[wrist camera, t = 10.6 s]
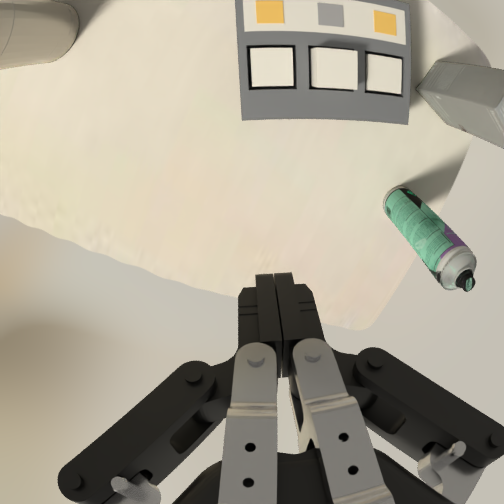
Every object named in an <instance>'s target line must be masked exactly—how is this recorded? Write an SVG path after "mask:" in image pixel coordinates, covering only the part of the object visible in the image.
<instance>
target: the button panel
mask: <svg viewBox="0 0 504 504" xmlns="http://www.w3.org/2000/svg"><path fill="white" fill-rule="evenodd" d="M235 9H236V26H237V44H238V62H239V79H240V96H241V113H242V121H243V120H264V119H336V120H357V121H372V122H384V123H395V124H404V125H408V119H409V105H410V85H411V27H410V9H409V4H407V3H404V2H400V1H396V0H235ZM316 47H318V48H332V49H343V50H352V51H357V58H358V81H357V90H353V89H339V88H320V87H314V86H311V65H310V49H312V48H316ZM250 48H292V52H293V85H294V86H256V87H252V86H251V68H250ZM365 54H372V55H379V56H385V57H391V58H396V59H401V60H402V80H401V94H397V93H390V92H382V91H373V90H366V89H365Z"/></svg>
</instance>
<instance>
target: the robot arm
mask: <svg viewBox="0 0 504 504" xmlns="http://www.w3.org/2000/svg"><path fill="white" fill-rule="evenodd" d="M78 28H79V19H78V15H77V12H76V10H75V9H74V8H73V7H72V6H70V5H68V4H65V3H60V2H56V1H52V0H0V70H1V69H7V68H13V67H19V66H26V65H35V64H43V63H50V62H53V61H56V60H57V59H59V58H61V57H62V56H63V55H64V54H65V53H66V52H67V51H68V50H69V49H70V47H71V46H72V44H73V42H74V41H75V38H76V36H77V32H78ZM255 277H256V287H248V288H243V289H242V291H241V293H240V294H239V296H238V349H237V351H236V353H235V355H234V356H233V357H232V358H230V359H229V360H228V361H226V362H223V363H220V364H217V365H214V366H210V365H208V364H207V363H205V362H202V361H190V362H187V363H184V364H183V365H181V366H180V367H179V368H177V369H176V370H175V371H174V372H173V373H172V374H171V375H170V376H169V377H168V378H167V379H165V380H164V381H163V382H162V383H161V384H160V385H159V386H158V387H156V388H155V389H154V390H153V391H152V392H151V393H150V394H148V395H147V396H146V397H145V398H144V399H143V400H142V401H140V402H139V403H138V404H137V405H136V406H135V407H134V408H132V409H131V410H130V411H129V412H128V413H127V414H126V415H124V416H123V417H122V418H121V419H120V420H119V421H118V422H116V423H115V424H114V425H113V426H112V427H110V428H109V429H108V430H107V431H106V432H105V433H103V434H102V435H101V436H100V437H99V438H98V439H96V440H95V441H94V442H93V443H92V444H90V445H89V446H88V447H87V448H86V449H84V450H83V451H82V452H81V453H80V454H78V455H77V456H76V457H75V458H74V459H72V460H71V461H70V462H69V463H67V464H66V465H65V466H64V467H63V468H62V469H61V470H60V472H59V475H58V486H59V489H60V491H61V493H62V494H63V495H64V496H65V497H66V498H68V499H69V500H71V501H74V502H76V503H79V504H160V501H161V494H160V491H159V489H158V488H157V485H158V484H159V483H161V481H163V480H164V479H165V478H166V477H167V476H168V475H169V474H170V473H171V472H172V471H173V470H174V469H175V468H176V467H177V466H178V465H179V464H180V463H182V462H183V461H184V459H186V458H187V457H188V456H189V455H190V454H191V453H192V452H193V451H194V450H195V449H196V447H198V446H199V445H200V444H201V443H202V442H203V441H204V439H205V438H206V437H207V436H208V435H209V434H210V433H211V432H212V431H213V430H214V429H215V428H216V426H218V425H219V424H220V423H221V421H222V420H223V419H224V418H226V428H225V437H224V447H223V457H222V461H219V462H217V463H215V464H213V465H212V466H210V467H208V468H207V469H206V470H204V471H203V472H202V473H201V474H200V475H199V476H198V477H197V478H196V479H195V480H194V481H193V482H192V483H191V485H190V486H189V487H188V488H187V489H186V490H185V491H184V492H183V493H182V494H181V495H180V496H179V497H178V498H177V499H176V500H175V501H174V502H173V503H172V504H465V503H466V501H467V500H468V498H469V496H470V495H471V493H472V491H473V489H474V488H475V486H476V484H477V482H478V480H479V479H480V477H481V475H482V473H483V471H484V469H485V468H486V466H488V465H489V464H491V463H492V462H494V461H495V460H497V459H498V458H500V457H501V456H502V455H504V427H503V426H502V425H501V424H499V423H497V422H496V421H494V420H493V419H491V418H490V417H488V416H486V415H485V414H483V413H481V412H480V411H479V410H477V409H475V408H474V407H472V406H471V405H469V404H467V403H466V402H464V401H463V400H461V399H460V398H458V397H456V396H455V395H453V394H452V393H450V392H449V391H447V390H445V389H444V388H442V387H440V386H439V385H437V384H436V383H434V382H433V381H431V380H430V379H428V378H427V377H425V376H423V375H422V374H420V373H419V372H417V371H416V370H414V369H413V368H411V367H410V366H408V365H406V364H405V363H403V362H402V361H400V360H399V359H397V358H396V357H394V356H393V355H391V354H389V353H388V352H386V351H385V350H383V349H380V348H375V347H370V348H366V349H364V350H362V351H361V352H360V353H359V354H358V355H353V354H346V353H341V352H338V351H336V350H334V349H333V348H331V347H330V346H329V345H328V344H327V342H326V341H325V338H324V335H323V331H322V327H321V323H320V319H319V315H318V312H317V308H316V304H315V300H314V297H313V293H312V291H311V290H310V289H309V288H308V287H307V286H306V284H294V280H293V276H292V273H291V272H290V273H274V278H273V274H259V275H255ZM281 371H282V377H288V378H289V385H290V388H289V397H290V401H291V406H292V410H293V415H294V420H295V424H296V429H297V434H298V446H299V454H286V453H279V452H277V386H278V378H280V377H281ZM366 426H367V427H368V428H370V429H371V430H372V431H374V432H375V433H377V434H378V435H379V436H381V437H382V438H384V439H385V440H386V441H388V442H389V443H391V444H392V445H394V446H395V447H396V448H398V449H399V450H401V451H402V452H404V453H405V454H407V455H408V456H410V457H411V458H413V459H414V460H416V461H417V462H418V474H419V477H420V478H421V479H422V480H423V481H425V482H426V483H424V482H423V481H421V480H420V479H419V478H417V477H416V476H414V475H413V474H412V473H410V472H409V471H408V470H406V469H405V468H404V467H402V466H401V465H399V464H398V463H397V462H395V461H394V460H393V459H392V458H390V457H389V456H387V455H386V454H385V453H383V452H381V451H379V450H377V449H375V448H373V446H372V443H371V440H370V437H369V434H368V431H367V428H366Z"/></svg>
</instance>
